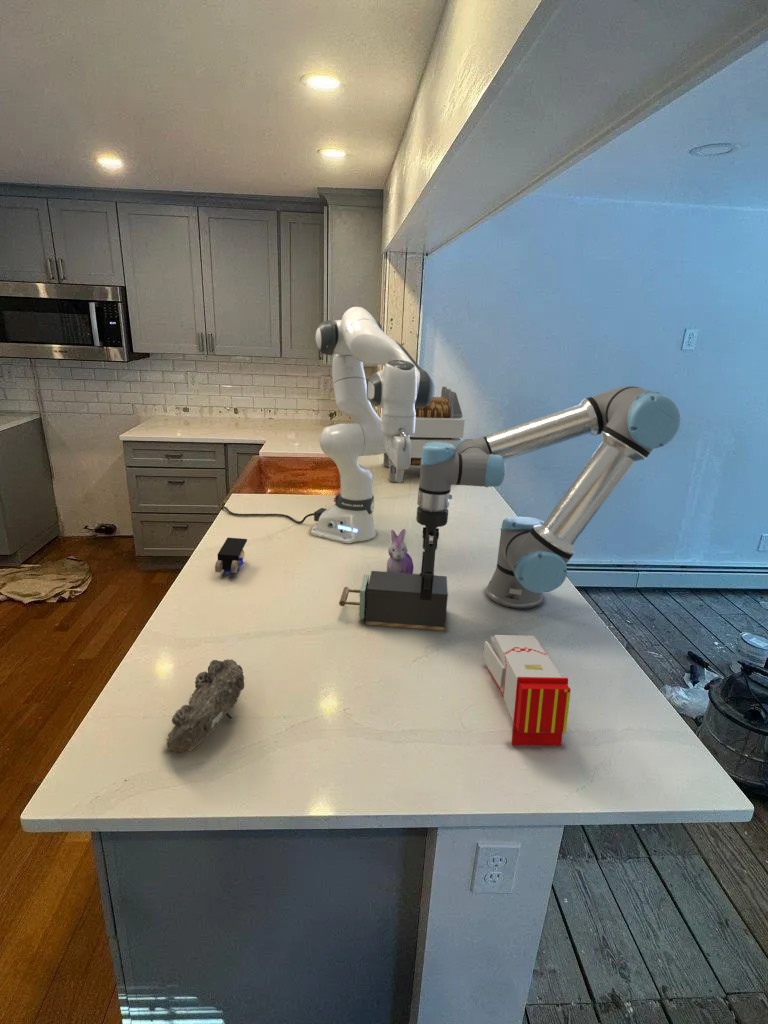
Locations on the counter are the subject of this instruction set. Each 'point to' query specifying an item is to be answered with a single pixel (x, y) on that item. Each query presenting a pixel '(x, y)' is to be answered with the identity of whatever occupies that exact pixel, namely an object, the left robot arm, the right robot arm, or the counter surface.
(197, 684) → the fossil
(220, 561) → the black wheeled block
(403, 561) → the figurine
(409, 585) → the cabinet
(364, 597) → the drawer
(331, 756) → the counter surface
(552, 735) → the toy
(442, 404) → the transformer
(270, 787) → the counter surface
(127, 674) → the counter surface
